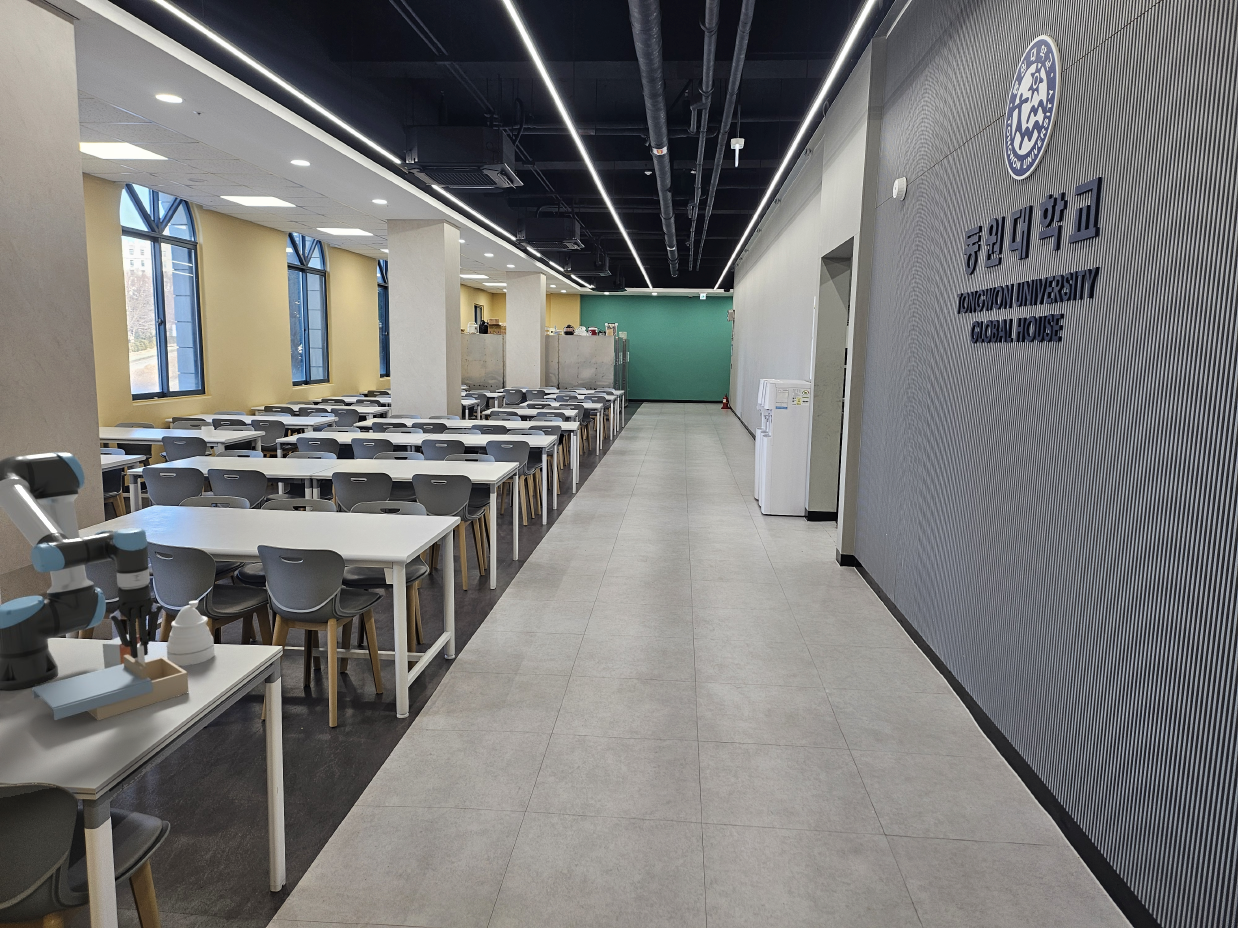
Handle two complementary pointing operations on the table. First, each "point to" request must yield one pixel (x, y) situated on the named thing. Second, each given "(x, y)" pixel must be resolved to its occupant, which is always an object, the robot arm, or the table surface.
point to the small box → (115, 652)
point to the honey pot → (190, 637)
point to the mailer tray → (165, 685)
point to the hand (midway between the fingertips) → (140, 667)
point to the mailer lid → (95, 688)
